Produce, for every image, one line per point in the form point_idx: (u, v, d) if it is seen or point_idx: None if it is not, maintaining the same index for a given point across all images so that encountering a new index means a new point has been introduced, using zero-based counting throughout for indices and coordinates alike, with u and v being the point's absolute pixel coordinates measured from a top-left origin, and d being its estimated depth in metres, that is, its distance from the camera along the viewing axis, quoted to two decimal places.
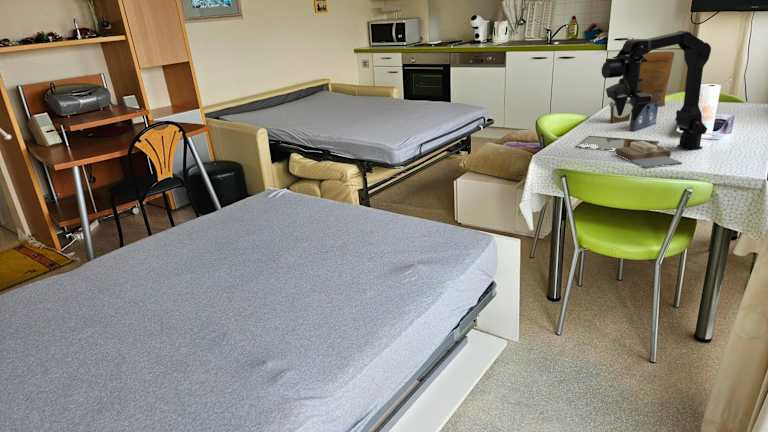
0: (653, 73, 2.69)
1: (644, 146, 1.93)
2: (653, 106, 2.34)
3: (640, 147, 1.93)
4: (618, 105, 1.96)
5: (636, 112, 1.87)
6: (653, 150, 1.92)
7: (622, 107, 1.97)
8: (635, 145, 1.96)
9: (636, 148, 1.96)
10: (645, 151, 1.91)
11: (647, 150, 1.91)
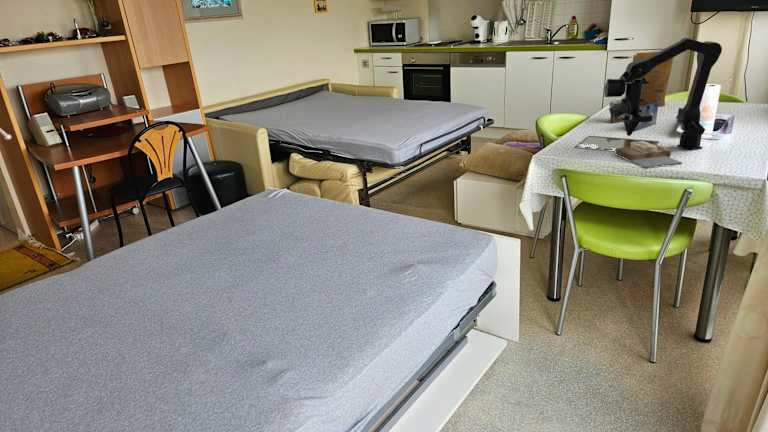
0: (653, 73, 2.69)
1: (644, 146, 1.93)
2: (653, 106, 2.34)
3: (640, 147, 1.93)
4: (627, 125, 2.02)
5: (631, 128, 2.02)
6: (653, 150, 1.92)
7: None
8: (635, 145, 1.96)
9: (636, 148, 1.96)
10: (645, 151, 1.91)
11: (647, 150, 1.91)
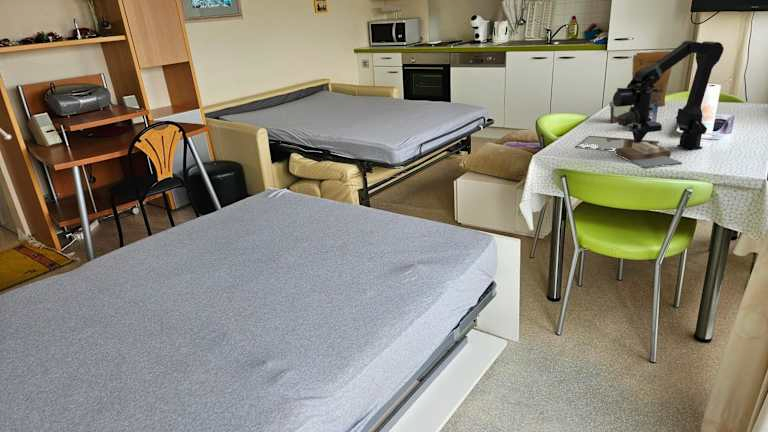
0: None
1: (646, 147, 1.91)
2: (653, 106, 2.34)
3: (642, 148, 1.92)
4: (635, 134, 1.98)
5: (639, 137, 1.97)
6: (655, 151, 1.90)
7: None
8: (637, 146, 1.95)
9: (638, 149, 1.94)
10: (646, 152, 1.90)
11: (649, 151, 1.90)
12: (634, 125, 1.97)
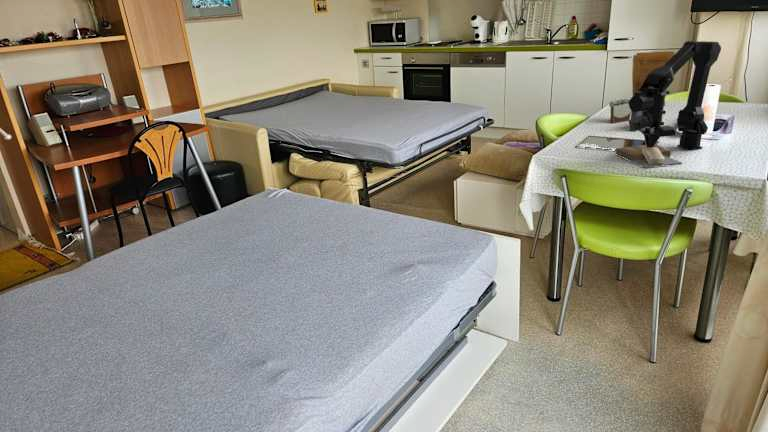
0: None
1: (652, 156, 1.85)
2: None
3: (648, 156, 1.86)
4: (647, 138, 1.91)
5: (651, 142, 1.90)
6: (660, 162, 1.84)
7: None
8: (645, 152, 1.89)
9: (645, 155, 1.88)
10: (650, 162, 1.84)
11: (653, 161, 1.84)
12: (646, 129, 1.90)
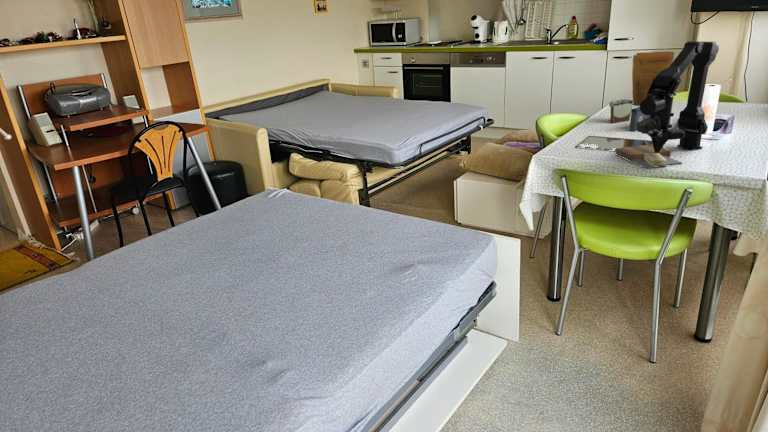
0: (653, 73, 2.69)
1: (653, 158, 1.84)
2: None
3: (649, 159, 1.85)
4: (655, 141, 1.87)
5: (659, 145, 1.86)
6: (662, 164, 1.82)
7: None
8: (646, 157, 1.88)
9: (647, 160, 1.87)
10: (652, 164, 1.83)
11: (655, 163, 1.83)
12: (654, 132, 1.86)
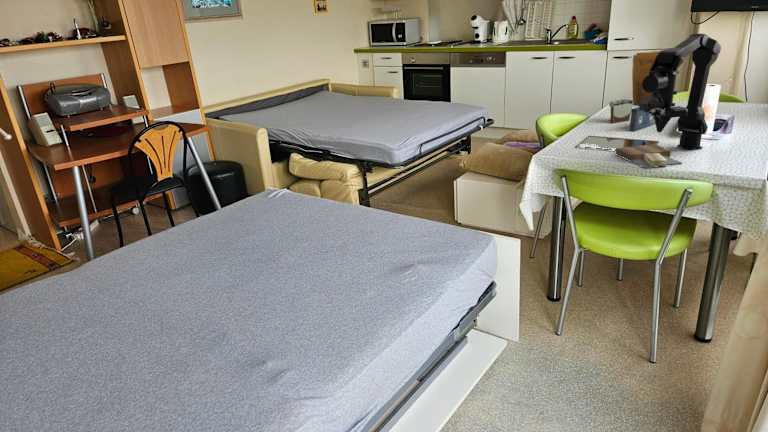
0: None
1: (653, 158, 1.84)
2: None
3: (649, 159, 1.85)
4: (658, 120, 1.84)
5: (662, 124, 1.83)
6: (662, 164, 1.82)
7: None
8: (646, 157, 1.88)
9: (647, 160, 1.87)
10: (652, 164, 1.83)
11: (655, 163, 1.83)
12: (656, 111, 1.83)
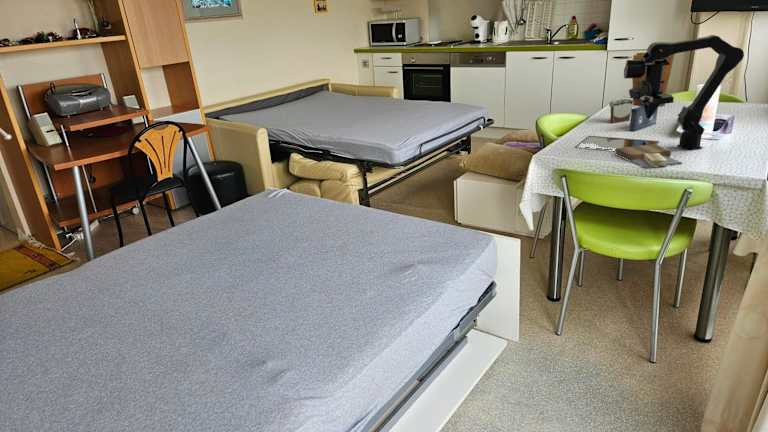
0: None
1: (653, 158, 1.84)
2: None
3: (649, 159, 1.85)
4: (647, 107, 2.00)
5: (651, 111, 1.99)
6: (662, 164, 1.82)
7: None
8: (646, 157, 1.88)
9: (647, 160, 1.87)
10: (652, 164, 1.83)
11: (655, 163, 1.83)
12: (646, 98, 1.99)
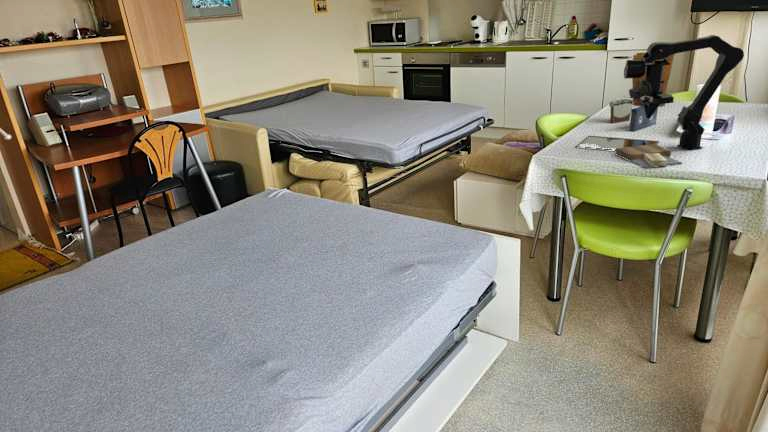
0: None
1: (653, 158, 1.84)
2: None
3: (649, 159, 1.85)
4: (647, 107, 2.00)
5: (651, 111, 1.99)
6: (662, 164, 1.82)
7: None
8: (646, 157, 1.88)
9: (647, 160, 1.87)
10: (652, 164, 1.83)
11: (655, 163, 1.83)
12: (646, 98, 1.99)
